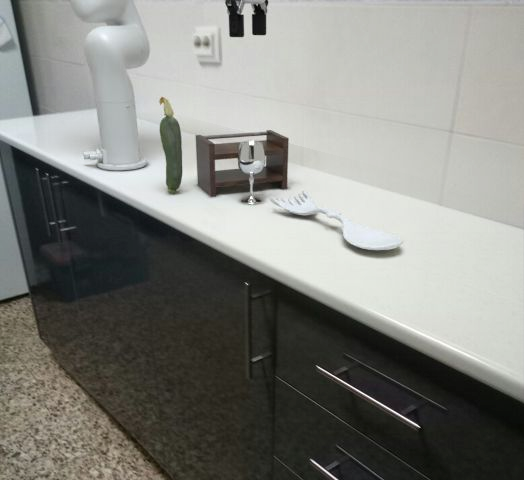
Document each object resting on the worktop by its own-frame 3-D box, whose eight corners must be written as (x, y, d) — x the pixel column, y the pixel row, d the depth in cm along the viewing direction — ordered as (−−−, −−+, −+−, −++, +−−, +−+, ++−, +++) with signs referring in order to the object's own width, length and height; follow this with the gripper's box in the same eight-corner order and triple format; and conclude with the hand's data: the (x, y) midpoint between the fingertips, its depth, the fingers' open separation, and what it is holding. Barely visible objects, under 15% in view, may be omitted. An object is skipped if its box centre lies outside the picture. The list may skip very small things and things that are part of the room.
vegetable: (187, 192, 130) (182, 96, 120) (179, 197, 127) (172, 99, 116) (169, 190, 131) (163, 94, 121) (160, 195, 128) (153, 97, 118)
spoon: (303, 204, 123) (304, 188, 121) (412, 252, 100) (415, 233, 98) (268, 211, 119) (268, 194, 117) (373, 263, 96) (375, 243, 94)
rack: (210, 196, 128) (209, 143, 122) (197, 185, 135) (195, 135, 130) (287, 188, 134) (288, 138, 128) (270, 178, 142) (271, 129, 136)
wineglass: (261, 205, 122) (262, 146, 116) (235, 204, 123) (234, 145, 117) (267, 198, 127) (267, 141, 121) (241, 196, 128) (240, 139, 122)
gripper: (250, -59, 122) (252, 34, 130) (206, -67, 108) (211, 37, 117) (283, -61, 119) (282, 34, 127) (241, -69, 105) (243, 38, 114)
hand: (248, 36), depth 122 cm, fingers open, 9 cm apart
